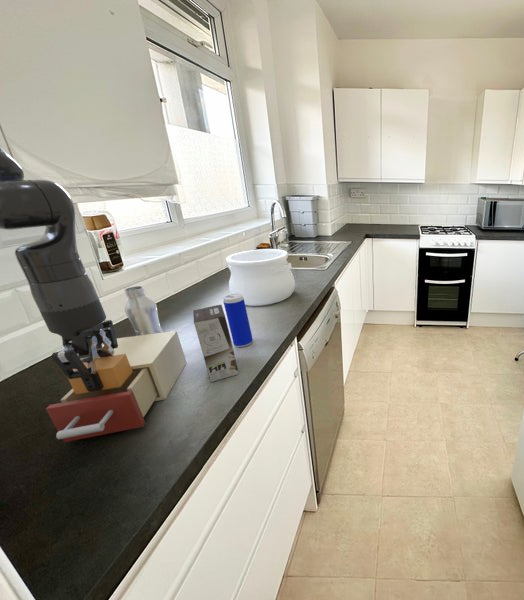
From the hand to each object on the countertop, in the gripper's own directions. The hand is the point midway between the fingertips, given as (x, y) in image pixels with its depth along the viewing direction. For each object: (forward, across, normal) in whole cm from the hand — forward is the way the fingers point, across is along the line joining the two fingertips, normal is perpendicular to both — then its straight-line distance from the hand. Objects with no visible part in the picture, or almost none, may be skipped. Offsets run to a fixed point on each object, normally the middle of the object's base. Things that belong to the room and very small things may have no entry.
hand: (104, 380), depth 61 cm
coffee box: (+9, +12, -17) cm, 23 cm away
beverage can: (+9, +25, -20) cm, 34 cm away
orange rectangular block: (0, 0, 0) cm, 0 cm away
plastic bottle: (+9, +25, +2) cm, 27 cm away
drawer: (+8, -1, 0) cm, 8 cm away
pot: (+10, +64, -23) cm, 69 cm away
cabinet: (+9, +11, 0) cm, 15 cm away
